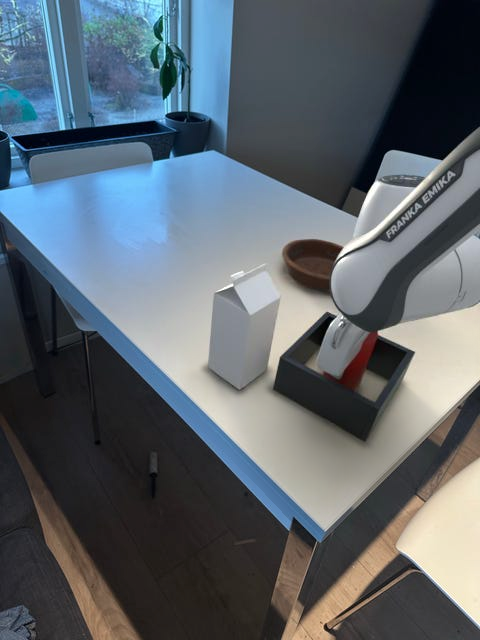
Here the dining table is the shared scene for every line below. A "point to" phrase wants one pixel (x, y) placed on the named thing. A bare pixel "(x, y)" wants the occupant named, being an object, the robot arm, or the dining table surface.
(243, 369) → the milk carton
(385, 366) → the open box
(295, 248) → the dish
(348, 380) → the can
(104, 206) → the dining table surface
